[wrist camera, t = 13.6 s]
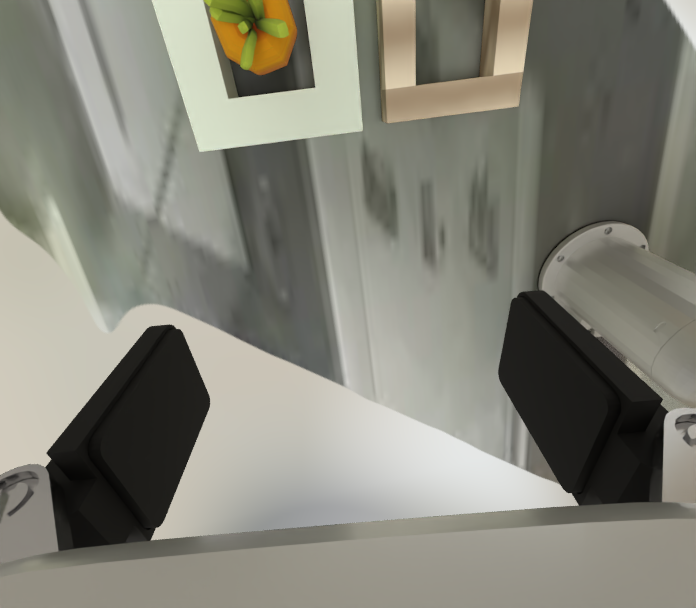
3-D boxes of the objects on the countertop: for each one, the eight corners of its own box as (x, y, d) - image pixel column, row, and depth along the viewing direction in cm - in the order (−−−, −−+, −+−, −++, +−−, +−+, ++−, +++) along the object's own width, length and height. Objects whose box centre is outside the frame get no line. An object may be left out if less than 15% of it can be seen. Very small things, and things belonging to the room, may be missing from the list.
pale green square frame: (358, 126, 32) (362, 131, 29) (212, 145, 32) (199, 151, 29) (341, -87, 25) (344, -116, 21) (151, -63, 25) (124, -87, 22)
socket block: (502, 105, 32) (518, 106, 30) (382, 120, 32) (387, 123, 30) (522, -68, 26) (544, -86, 24) (373, -49, 26) (379, -64, 24)
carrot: (313, 49, 29) (314, 13, 16) (272, 94, 30) (245, 93, 18) (269, -11, 27) (231, -106, 14) (227, 40, 28) (159, -5, 16)
